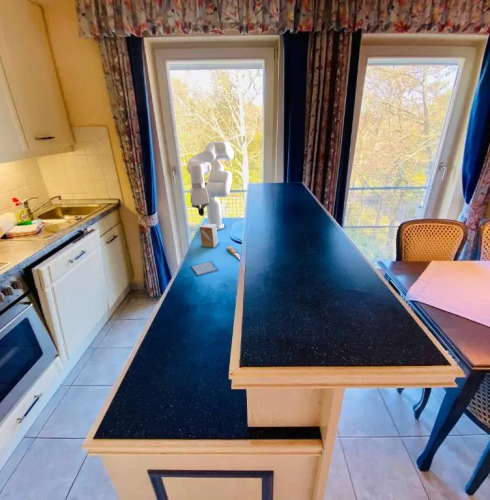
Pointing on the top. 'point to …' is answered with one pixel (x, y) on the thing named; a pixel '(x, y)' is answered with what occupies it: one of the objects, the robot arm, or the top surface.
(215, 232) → the small box
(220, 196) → the robot arm
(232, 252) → the knife
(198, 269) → the cloth
